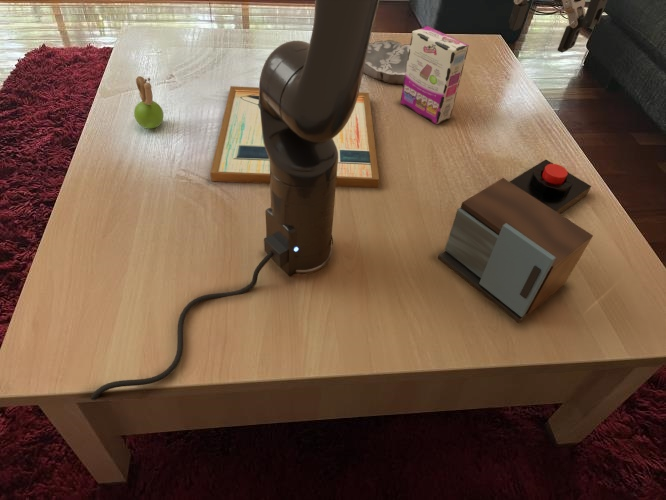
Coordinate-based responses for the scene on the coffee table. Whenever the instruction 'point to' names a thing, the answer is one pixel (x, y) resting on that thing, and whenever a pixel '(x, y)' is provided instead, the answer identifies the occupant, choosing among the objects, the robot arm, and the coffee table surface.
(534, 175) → the button box
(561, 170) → the button
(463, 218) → the cabinet
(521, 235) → the gray sliding door
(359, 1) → the robot arm
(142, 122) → the snail figurine
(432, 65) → the candy bar box
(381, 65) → the grey flat irregular slab
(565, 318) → the coffee table surface
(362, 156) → the picture frame
